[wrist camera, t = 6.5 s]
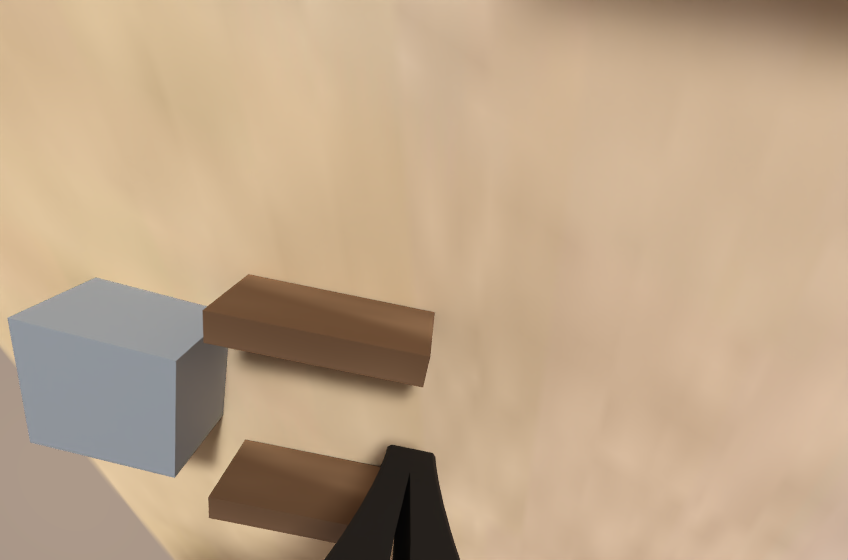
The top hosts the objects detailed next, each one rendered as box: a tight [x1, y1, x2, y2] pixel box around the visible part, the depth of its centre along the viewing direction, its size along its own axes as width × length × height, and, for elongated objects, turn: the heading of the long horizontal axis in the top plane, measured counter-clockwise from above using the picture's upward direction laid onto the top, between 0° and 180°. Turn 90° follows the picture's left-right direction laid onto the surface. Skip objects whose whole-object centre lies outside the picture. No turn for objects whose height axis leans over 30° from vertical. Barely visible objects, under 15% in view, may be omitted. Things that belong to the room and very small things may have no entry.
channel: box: [202, 274, 435, 543], centre depth 13 cm, size 8×6×2 cm
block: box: [8, 278, 228, 478], centre depth 13 cm, size 4×4×3 cm
